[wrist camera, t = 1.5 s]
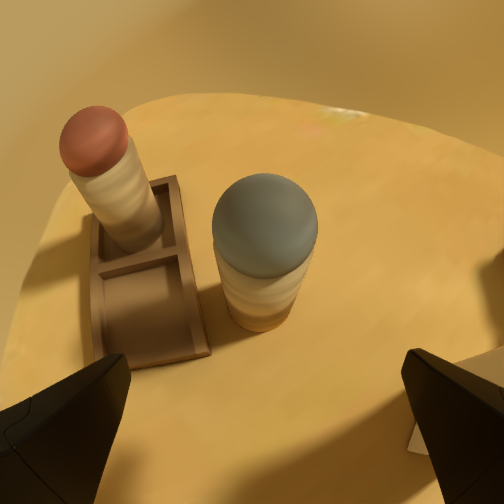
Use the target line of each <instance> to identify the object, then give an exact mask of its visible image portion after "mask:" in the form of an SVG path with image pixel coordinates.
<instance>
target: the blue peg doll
mask: <svg viewBox="0 0 504 504" xmlns="http://www.w3.org/2000/svg"><path fill="white" fill-rule="evenodd" d="M317 233H318V220H317V215H316V211H315V208H314V205H313V203H312V201H311V200H310V198H309V196H308V195H307V194H306V193H305V191H304V190H303V189H302V188H301V187H300V186H299V185H297V184H296V183H295V182H293V181H291V180H289V179H287V178H285V177H283V176H279V175H275V174H267V173H262V174H254V175H251V176H247V177H245V178H242V179H240V180H238V181H237V182H235V183H234V184H233V185H231V186H230V187H229V188H228V189H227V190H226V191H225V192H224V193H223V195H222V196H221V198H220V199H219V201H218V203H217V205H216V207H215V210H214V214H213V220H212V234H213V239H214V241H213V247H214V253H215V257H216V262H217V266H218V270H219V274H220V278H221V282H222V287H223V291H224V295H225V299H226V303H227V307H228V310H229V313H230V315H231V317H232V318H233V320H234V321H235V322H236V323H237V324H238V325H239V326H241V327H242V328H244V329H246V330H249V331H253V332H266V331H270V330H273V329H275V328H277V327H278V326H280V325H281V324H282V323H283V322H284V321H285V320H286V318H287V317H288V315H289V313H290V310H291V308H292V306H293V303H294V301H295V299H296V296H297V294H298V291H299V289H300V286H301V284H302V282H303V279H304V277H305V274H306V272H307V269H308V267H309V264H310V261H311V259H312V256H313V251H314V245H315V242H316V238H317Z"/></svg>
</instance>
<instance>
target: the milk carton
mask: <svg viewBox="0 0 504 504" xmlns="http://www.w3.org/2000/svg"><path fill="white" fill-rule="evenodd" d="M453 364H454V365H456V366H458V367H460V368H462V369H465V370H467V371H469V372H471V373H473V374H475V375H477V376H479V377H482V378H484V379H486V380H488V381H490V382H492V383H494V384H497V385H498V386H501V387H503V388H504V345H503V346H501V347H498V348H496V349H493V350H491V351H488V352H485V353H483V354H480V355H477V356H474V357H471V358H468V359H465V360H462V361H459V362H456V363H453ZM407 450H408V451H410V452H415V453H420V454H425V455H429V453H428V451H427V448H426V445H425V443H424V440H423V437H422V435H421V432H420V430H419V427H418V425H417V422H416V425H415V428H414V431H413V434H412V436H411V439H410V442H409V445H408V448H407Z"/></svg>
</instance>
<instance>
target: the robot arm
mask: <svg viewBox="0 0 504 504" xmlns="http://www.w3.org/2000/svg"><path fill="white" fill-rule="evenodd" d="M401 375H402V379H403V382H404V385H405V389H406V392H407V395H408V399H409V402H410V406H411V409H412V412H413V415H414V417H415V420H416V422H417V425H418V427H419V430H420V432H421V435H422V437H423V440H424V443H425V445H426V448H427V451H428V453H429V456H430V459H431V462H432V465H433V468H434V470H435V473H436V476H437V479H438V483H439V486H440V489H441V492H442V495H443V498H444V502H445V504H504V388H503V387H501V386H498V385H497V384H494V383H492V382H490V381H488V380H486V379H484V378H482V377H479V376H477V375H475V374H473V373H471V372H469V371H467V370H465V369H462V368H460V367H458V366H456V365H454V364H452V363H450V362H448V361H446V360H444V359H441V358H439V357H437V356H435V355H433V354H431V353H429V352H427V351H425V350H423V349H421V348H416V349H410V350H409V351H408V352H407V354H406V357H405V360H404V363H403V366H402V369H401ZM130 382H131V372H130V368H129V365H128V361H127V358H126V356H125V354H123V353H116V352H112V353H110V354H108V355H107V356H105V357H103V358H101V359H99V360H98V361H96V362H94V363H92V364H90V365H89V366H87V367H85V368H83V369H81V370H79V371H78V372H76V373H74V374H72V375H70V376H68V377H67V378H65V379H63V380H61V381H59V382H57V383H55V384H54V385H52V386H50V387H48V388H46V389H44V390H42V391H41V392H39V393H37V394H35V395H33V396H32V397H29V398H27V399H25V400H24V401H22V402H20V403H18V404H16V405H14V406H12V407H9V408H7V409H5V410H2V411H0V504H94V500H95V497H96V493H97V490H98V487H99V484H100V480H101V477H102V474H103V471H104V468H105V465H106V462H107V459H108V456H109V453H110V450H111V447H112V444H113V441H114V438H115V436H116V433H117V430H118V427H119V424H120V421H121V418H122V415H123V411H124V407H125V402H126V398H127V394H128V390H129V386H130Z"/></svg>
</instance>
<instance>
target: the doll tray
mask: <svg viewBox="0 0 504 504" xmlns="http://www.w3.org/2000/svg"><path fill="white" fill-rule="evenodd" d="M149 185H150V187H151V190H152V192H153V195H154V197H155V200H156V202H157V205H158V207H159V210H160V212H161V214H162V217H163V220H164V228H163V232H162V234H161V236H160V238H159V239H158V240H157V241H156V243H155V244H153V245H152V246H151V247H149V248H148V249H146V250H144V251H141V252H137V253H129V252H125V251H123V250H121V249H119V248H118V247H117V245H116V244H115V243H114V241H113V240H112V239H111V237H110V236H109V234H108V233H107V232H106V230H105V229H104V227H103V226H102V224H101V223H100V222H99V220H98V219H97V217H96V216H95V214H94V213H93V215H92V229H91V247H90V306H91V325H92V338H93V348H94V358H95V362H96V361H98V360H99V359H101V358H103V357H105V356H107V355H108V354H110V353H112V352H116V353H123V354H125V356H126V358H127V361H128V365H129V368H130V370H135V369H141V368H148V367H154V366H160V365H165V364H171V363H176V362H182V361H187V360H192V359H197V358H201V357H206V356H211V352H210V348H209V343H208V339H207V334H206V330H205V326H204V321H203V316H202V312H201V307H200V302H199V297H198V292H197V287H196V282H195V277H194V272H193V266H192V261H191V255H190V250H189V244H188V238H187V232H186V226H185V220H184V214H183V207H182V201H181V194H180V188H179V184H178V181H177V177H176V175H172V176H168V177H164V178H160V179H156V180H153V181H149Z"/></svg>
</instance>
